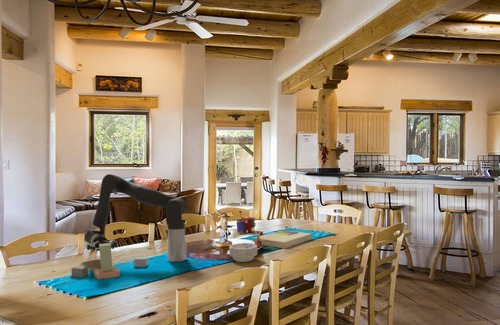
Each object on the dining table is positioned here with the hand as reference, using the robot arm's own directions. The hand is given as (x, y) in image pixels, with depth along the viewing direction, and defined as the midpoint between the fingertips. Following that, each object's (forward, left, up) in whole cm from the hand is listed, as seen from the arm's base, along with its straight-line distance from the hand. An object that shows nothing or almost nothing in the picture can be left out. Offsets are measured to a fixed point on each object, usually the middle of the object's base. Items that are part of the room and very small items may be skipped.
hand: (103, 247), depth 202 cm
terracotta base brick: (-6, +6, -12) cm, 14 cm away
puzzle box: (-68, -96, -12) cm, 118 cm away
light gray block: (-12, -14, -12) cm, 22 cm away
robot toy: (-34, -123, -12) cm, 129 cm away
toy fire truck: (-59, -70, -12) cm, 92 cm away
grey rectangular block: (+6, +10, -12) cm, 16 cm away
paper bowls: (-59, -40, -12) cm, 72 cm away
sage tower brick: (-6, +6, -9) cm, 12 cm away
